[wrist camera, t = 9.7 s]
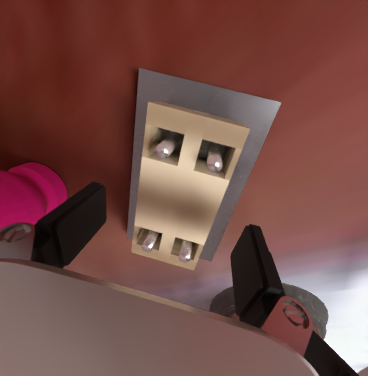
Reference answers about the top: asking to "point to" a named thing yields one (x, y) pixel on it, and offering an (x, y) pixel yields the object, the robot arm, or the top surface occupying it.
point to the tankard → (313, 304)
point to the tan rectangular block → (182, 181)
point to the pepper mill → (29, 193)
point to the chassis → (214, 152)
